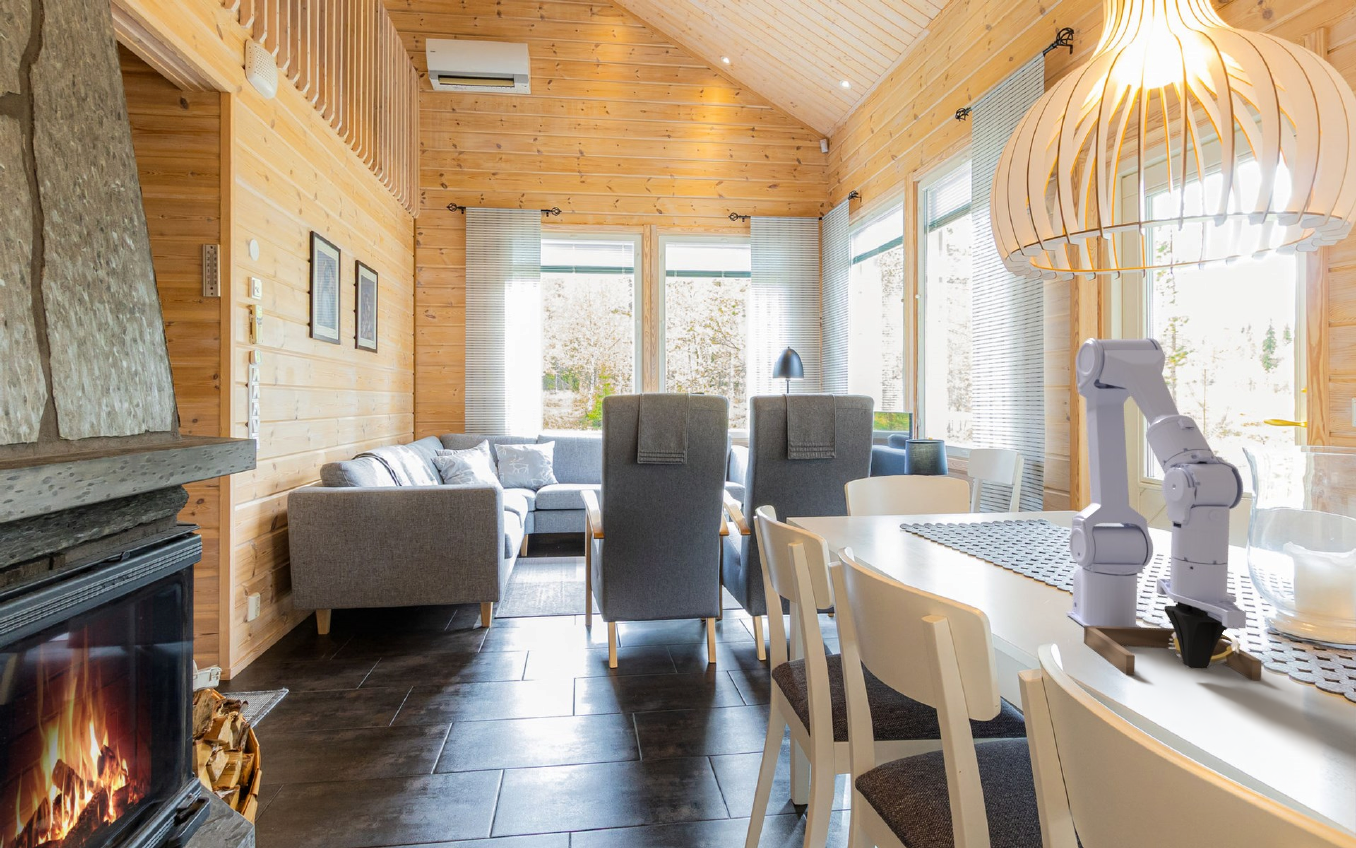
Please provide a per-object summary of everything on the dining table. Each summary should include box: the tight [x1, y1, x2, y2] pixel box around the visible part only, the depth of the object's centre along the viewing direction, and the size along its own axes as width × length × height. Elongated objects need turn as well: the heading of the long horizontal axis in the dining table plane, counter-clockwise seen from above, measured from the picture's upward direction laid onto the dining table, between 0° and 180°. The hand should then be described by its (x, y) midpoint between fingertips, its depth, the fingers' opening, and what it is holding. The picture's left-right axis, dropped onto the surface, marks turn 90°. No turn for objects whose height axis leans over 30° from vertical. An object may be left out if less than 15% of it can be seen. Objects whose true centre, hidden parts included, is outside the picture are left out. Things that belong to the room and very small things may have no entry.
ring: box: [1168, 631, 1241, 666], centre depth 94 cm, size 7×3×8 cm
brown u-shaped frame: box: [1083, 625, 1262, 681], centre depth 94 cm, size 12×16×2 cm
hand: (1195, 666), depth 88 cm, fingers closed
